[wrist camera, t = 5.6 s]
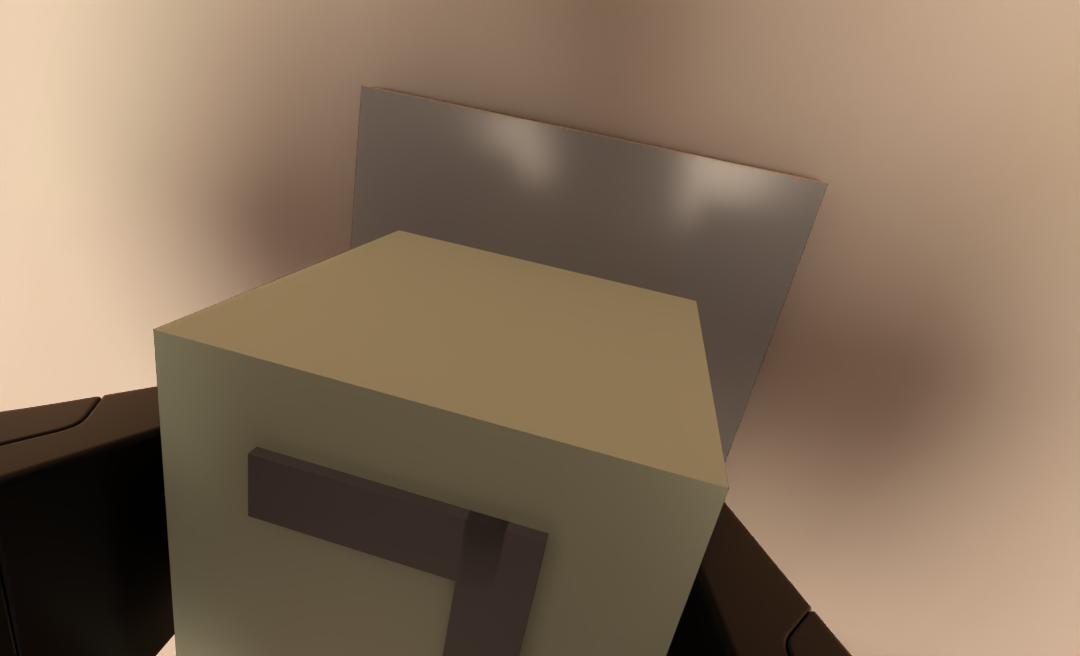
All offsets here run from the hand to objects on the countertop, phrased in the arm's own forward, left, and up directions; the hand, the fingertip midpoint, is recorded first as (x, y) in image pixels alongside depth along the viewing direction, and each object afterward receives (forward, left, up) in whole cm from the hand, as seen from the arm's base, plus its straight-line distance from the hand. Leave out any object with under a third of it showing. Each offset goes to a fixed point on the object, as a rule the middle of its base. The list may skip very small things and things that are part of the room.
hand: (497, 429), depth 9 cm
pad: (0, 0, -4) cm, 4 cm away
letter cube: (0, 0, -1) cm, 1 cm away
